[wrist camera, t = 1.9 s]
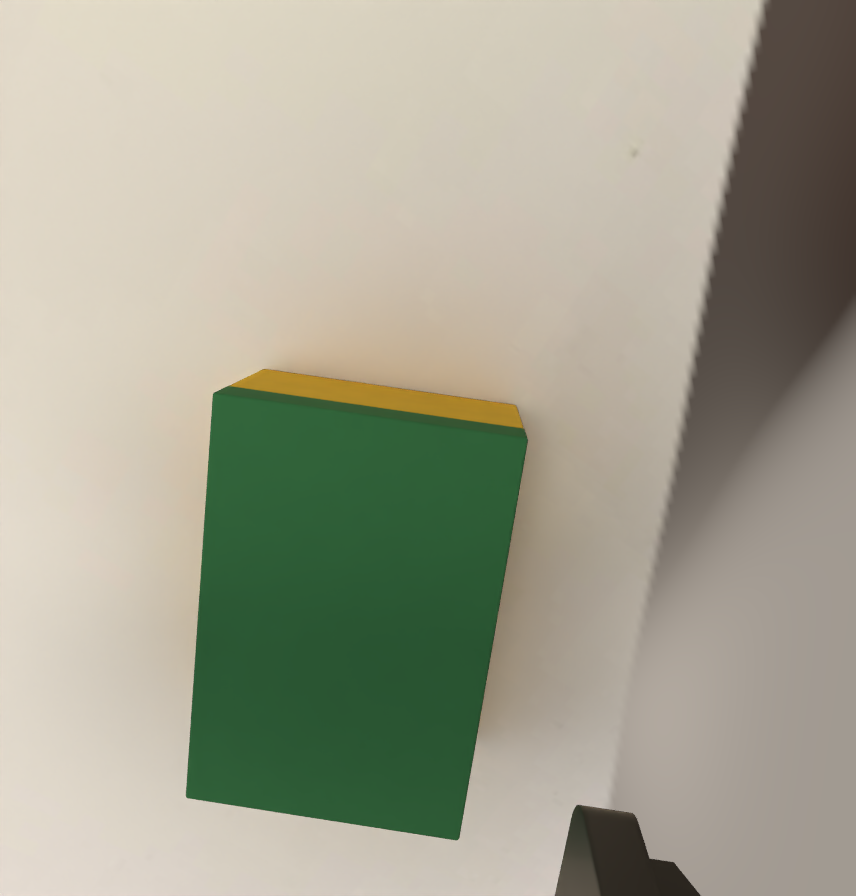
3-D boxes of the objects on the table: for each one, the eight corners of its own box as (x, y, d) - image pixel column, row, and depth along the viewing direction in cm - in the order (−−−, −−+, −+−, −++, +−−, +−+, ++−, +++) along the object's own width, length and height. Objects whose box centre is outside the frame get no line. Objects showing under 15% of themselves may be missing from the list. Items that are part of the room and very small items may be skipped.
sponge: (517, 404, 17) (528, 438, 14) (461, 742, 20) (458, 842, 16) (262, 368, 17) (212, 392, 14) (234, 706, 20) (184, 799, 16)
